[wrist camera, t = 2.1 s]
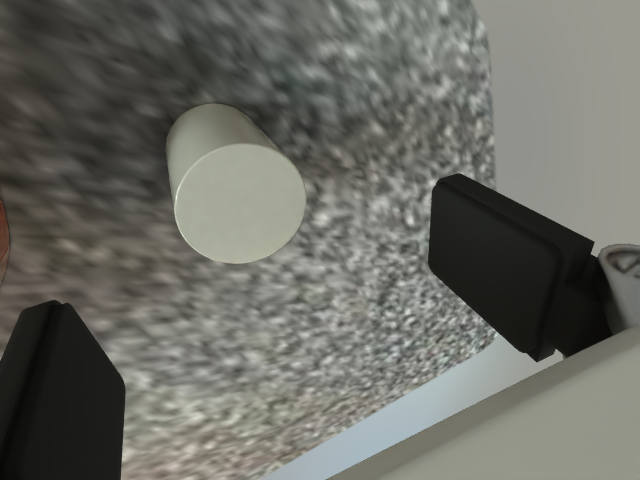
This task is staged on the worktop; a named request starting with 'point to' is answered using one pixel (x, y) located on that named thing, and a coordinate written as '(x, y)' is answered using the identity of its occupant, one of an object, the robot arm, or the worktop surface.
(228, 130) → the pale grey cylinder
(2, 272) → the pan
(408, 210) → the worktop surface
